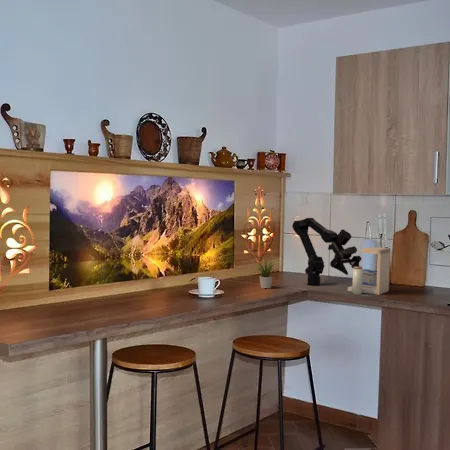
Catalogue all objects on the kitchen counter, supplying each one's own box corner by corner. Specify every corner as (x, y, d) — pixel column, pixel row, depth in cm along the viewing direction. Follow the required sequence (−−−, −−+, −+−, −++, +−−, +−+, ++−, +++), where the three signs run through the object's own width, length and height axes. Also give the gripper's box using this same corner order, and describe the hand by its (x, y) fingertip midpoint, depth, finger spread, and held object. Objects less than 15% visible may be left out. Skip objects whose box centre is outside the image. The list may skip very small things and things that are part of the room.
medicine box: (361, 284, 375) (362, 269, 375) (367, 283, 378) (367, 268, 377) (372, 286, 369) (373, 270, 368) (378, 285, 372) (378, 270, 371)
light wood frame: (346, 291, 349) (348, 248, 347) (357, 287, 362) (359, 246, 361) (379, 294, 340) (380, 250, 338) (388, 290, 353) (390, 248, 352)
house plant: (281, 286, 360) (282, 256, 359) (281, 290, 346) (282, 259, 345) (255, 285, 361) (256, 255, 360) (254, 289, 347) (255, 258, 346)
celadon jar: (351, 293, 340) (352, 267, 339) (352, 292, 345) (353, 265, 344) (361, 294, 339) (362, 267, 338) (362, 293, 344) (363, 266, 343)
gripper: (334, 241, 342) (349, 265, 333) (359, 240, 352) (374, 263, 344) (323, 255, 349) (337, 278, 340) (348, 253, 359) (362, 276, 351)
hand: (353, 273), depth 344 cm, fingers open, 9 cm apart
